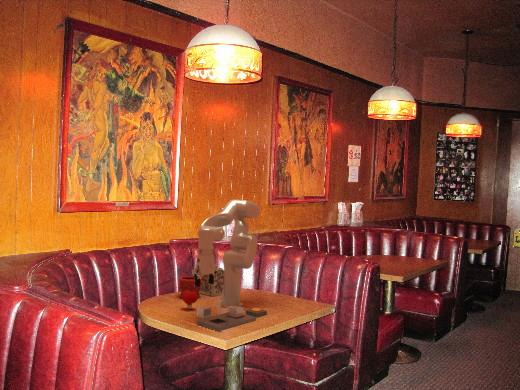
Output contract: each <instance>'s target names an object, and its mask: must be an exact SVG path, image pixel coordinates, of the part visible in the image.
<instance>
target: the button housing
mask: <svg viewBox="0 0 520 390" xmlns="http://www.w3.org/2000/svg"><path fill="white" fill-rule="evenodd" d="M250 309H251V308H250ZM250 309H247V310H245V314H247V315H250V316H254V317H256V318H260V317H263V316H266V315H268V314H267V313H268V311H267V310H265V309H262V311H260V312H253V311H250Z"/></svg>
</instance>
